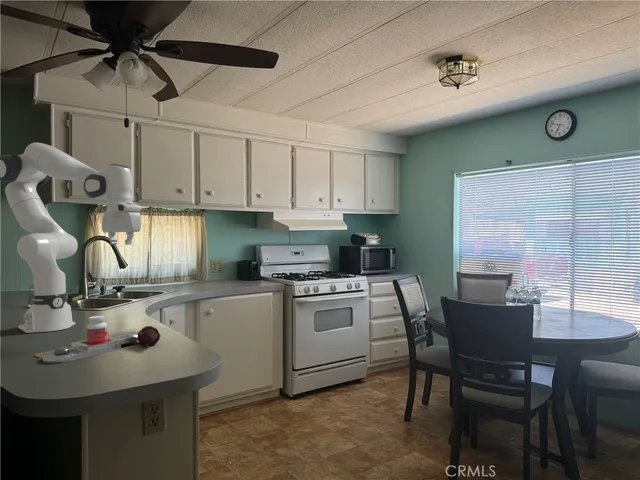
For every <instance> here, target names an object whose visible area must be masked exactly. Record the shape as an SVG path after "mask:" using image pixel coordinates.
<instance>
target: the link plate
mask: <svg viewBox="0 0 640 480" xmlns="http://www.w3.org/2000/svg"><path fill="white" fill-rule="evenodd" d="M54 350H55V349H53V350H48V351H42V352H37V353H35V355H34V356H35V357H37V358H43V355H45V354H47V353H50V352H54Z"/></svg>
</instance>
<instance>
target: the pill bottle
mask: <svg viewBox="0 0 640 480" xmlns="http://www.w3.org/2000/svg"><path fill="white" fill-rule="evenodd" d="M108 335H109V334H108V323H106V322H105V315H93V316H90V317H88V324H87V325H86V340H87V345H95V344H100V343H104V342H108Z"/></svg>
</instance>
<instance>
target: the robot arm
mask: <svg viewBox="0 0 640 480" xmlns="http://www.w3.org/2000/svg"><path fill="white" fill-rule="evenodd" d="M132 175H133V174H132V171H131V169H130V167H129V166H127V165H123V164H117V163H109V164H107V165H106V167H104V168H103V169H102V170H100V171H99V170H98V169H95V168H93V167H91V166H89V165H87V164H85V163H84V162H82V161H79V160H78V159H76V158H74V157H73V156H71V155H69V154H68V153H66V152H64V151H63V150H60V149H58V148H57V147H54V146H53V145H49V144H46V143H43V142H42V143H41V142H32V143H30V144H28V145H27V146H26V148H25V149H24V152H23V153H22V154H17V153H9V154H5V155H1V156H0V181H1V182H4V183H8V184H7V185H6V186H5V187H4V193H5V196H6V200H7V202H8V204H9V207H10V209H11V211H12V213H13V215H14V217H15V219H16V220H17V222H18V225H19V226H20V228H22V229H23V230H24V231H26V232H29V233H30V234H26V235H23V236H22V237H20V238H19V240H18V241H17V244H16V250H17V253H18V256H20V258H21V259H23V260H25V262H26V263H27V265H28V266H29V268H30V270H31V273H32V277H33V289H34V291H33V292H34V294H33V295H32V299H31V301H32V303H31V304H32V305H31V306H30V307H29V308H28V310H27V311H26V312H25V313H24V314H23V315H22V321H23V322H24V323H23V324H19V325H18V327H17V328H18V330H19V329H20V330H21V331H23V332H24V333H27V334H28V333H43V332H44V333H45V332H54V331H55V332H56V331H61V330H65V329H66V330H67V329H69V328H71V327H72V326H74V325H76V322H75V321H73V316H72V308H71V305H70V304H69V303H68V297H69V296H68V293H67V284H66V283H67V281H66V278H67V277H66V273H65V272H64V271H62V270H61V269H60V268H59V266H58V263H57V260H63V259H67V258H69V257H72V256H74V255H75V254H76V253H77V250H78V245H79V243H78V240H77V238H75V236H73V235H72V234H70V233H68V232H66V231H65V230H64V229H62V227H61V226H60V225H59V224H58V223H57V222H56V221H55V220H54V219H53V217H52V216H51V215H50V213H49V212H48V210H47V208H46V206H45V205H44V202H43V201H42V199H41V197H40V195H39V193H38V192H37V187H44V185H45V184H46V183H47V182H49V181H50V179H51V178H54V179H57V180H64V181H65V180H66V181H76V182H83V190H84V193H85V195H86V196H87V197H89V198H90V199H94V200H101V201H106V209H105V210H104V212H103V214H102V217H101V232H102V233H108V235H107V237H108V238H109V240H110V245H115V246H117V245H118V240H117V239H116V233H125V234H126V239H125V240H124V242H125V243H124V245H127V246H128V245H129V246H130V245H133V243H132V242H133V241H132V240H133V238H134V234H135V233H139V232H140V231H141V230H142V217H141V211H142V206H141V205H139V204H137V203H135V202H133V201H134V199H133V196H132V195H133V194H132V191H133V178H132Z"/></svg>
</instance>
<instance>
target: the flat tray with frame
mask: <svg viewBox="0 0 640 480" xmlns="http://www.w3.org/2000/svg"><path fill="white" fill-rule="evenodd" d="M138 332H139V331H123V332H118V333H113V334H108V342H104V343H100V344H95V345H87V339H84V340H79V341H75V342H71V347H67V346H65V347H58V348H55V349H53V350H54V352H50V353H47V354H45V355H43V357H42V363H44V364H63V363H68V362H72V361H76V360H81V359H85V358H89V357H93V356H97V355H102V354H105V353H110V352H113V351H117V350H121V349H122V346H130V345H136V344H137V343H138V338H137V336H138Z"/></svg>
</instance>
